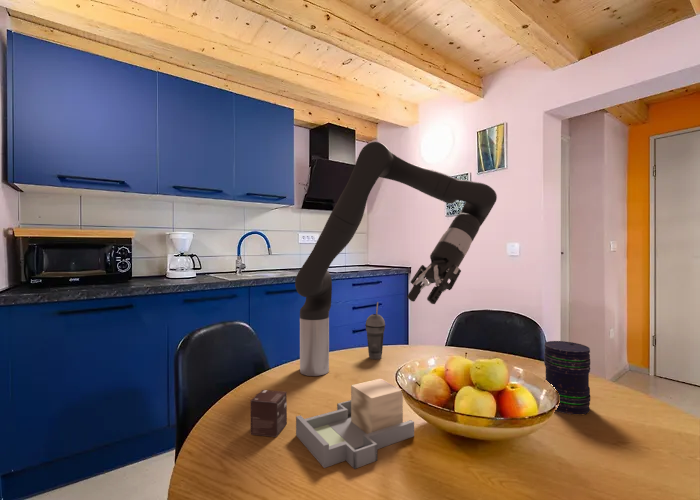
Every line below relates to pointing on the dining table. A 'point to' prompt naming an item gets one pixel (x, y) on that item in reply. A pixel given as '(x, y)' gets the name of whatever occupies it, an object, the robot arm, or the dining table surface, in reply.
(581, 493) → the dining table surface
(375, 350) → the beverage cup
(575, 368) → the black striped cylinder
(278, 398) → the box
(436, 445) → the dining table surface
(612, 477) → the dining table surface
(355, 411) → the maple cube
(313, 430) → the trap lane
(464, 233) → the robot arm
